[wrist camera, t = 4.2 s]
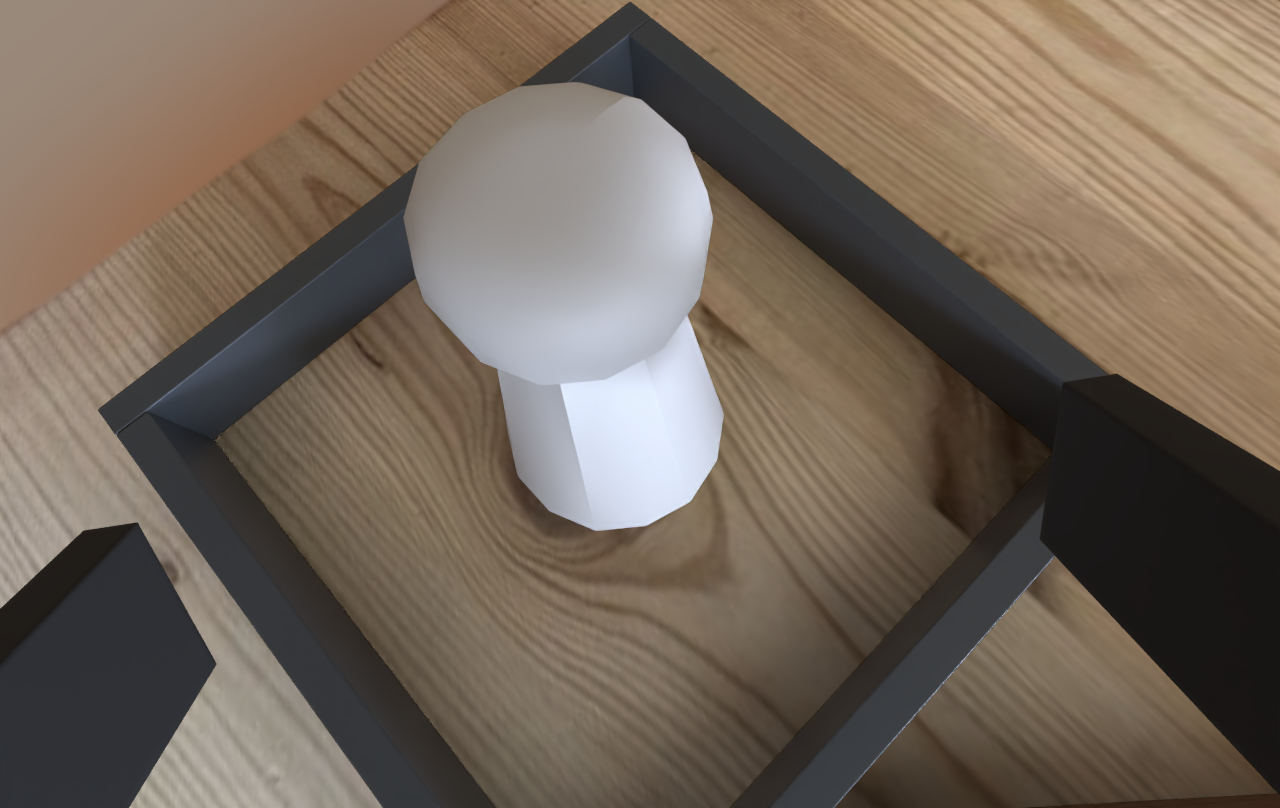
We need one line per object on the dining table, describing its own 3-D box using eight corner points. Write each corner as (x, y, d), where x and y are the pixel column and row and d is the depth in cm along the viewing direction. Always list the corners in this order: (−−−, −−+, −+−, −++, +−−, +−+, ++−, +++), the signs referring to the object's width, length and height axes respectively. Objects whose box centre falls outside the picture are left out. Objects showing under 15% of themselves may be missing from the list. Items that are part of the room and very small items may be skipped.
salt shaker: (743, 509, 20) (847, 317, 8) (554, 568, 20) (365, 461, 8) (682, 334, 22) (691, -39, 10) (507, 385, 22) (296, 67, 10)
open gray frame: (600, 1016, 17) (584, 1093, 14) (170, 438, 22) (96, 409, 19) (1103, 452, 21) (1172, 423, 18) (635, 70, 26) (630, 0, 23)
